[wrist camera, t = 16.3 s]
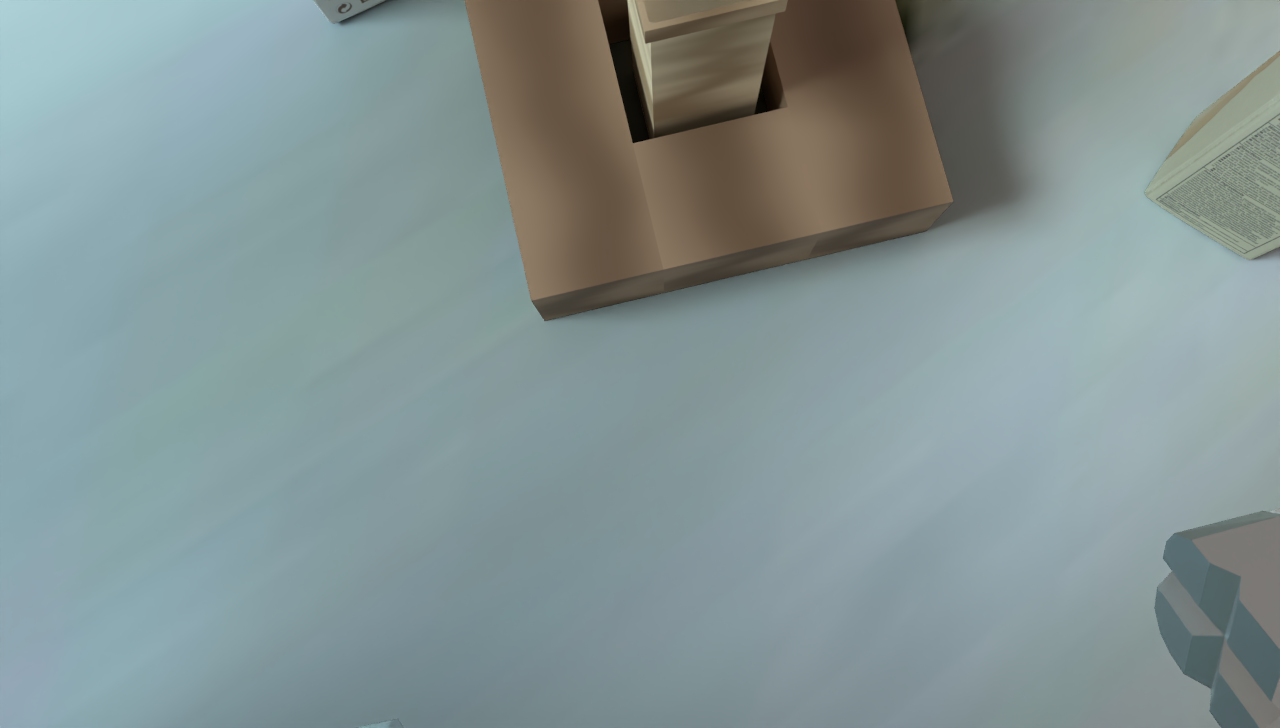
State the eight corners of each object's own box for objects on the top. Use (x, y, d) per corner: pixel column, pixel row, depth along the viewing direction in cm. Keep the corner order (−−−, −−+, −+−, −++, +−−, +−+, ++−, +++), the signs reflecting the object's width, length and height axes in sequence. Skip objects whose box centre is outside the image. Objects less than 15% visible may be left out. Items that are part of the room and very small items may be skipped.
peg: (651, 167, 42) (644, 31, 30) (627, 69, 43) (611, -101, 31) (754, 143, 42) (788, -3, 30) (729, 46, 43) (752, -134, 31)
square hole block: (544, 320, 41) (531, 300, 37) (465, -35, 43) (444, -90, 40) (926, 231, 41) (953, 201, 37) (826, -119, 44) (842, -182, 40)
